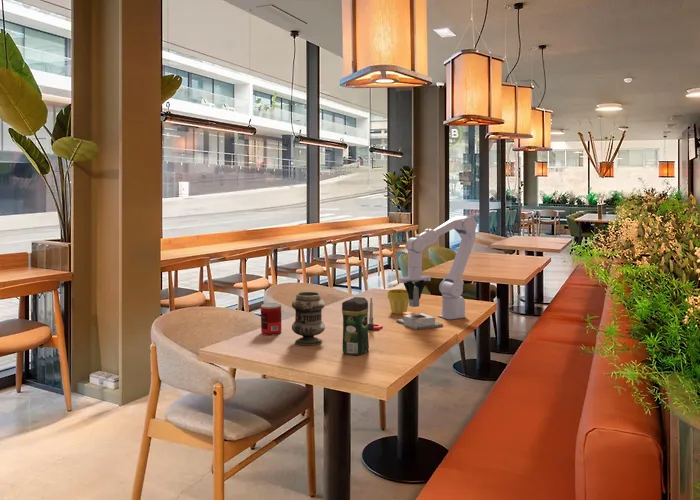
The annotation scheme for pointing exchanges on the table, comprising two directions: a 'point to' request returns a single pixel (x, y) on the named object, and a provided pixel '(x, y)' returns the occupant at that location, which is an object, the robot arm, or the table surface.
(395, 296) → the plant pot
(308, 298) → the apothecary jar
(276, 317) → the canned food
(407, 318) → the bracket fixture
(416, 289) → the pin
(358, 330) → the coffee jar
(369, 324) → the tow hook
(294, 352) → the table surface
